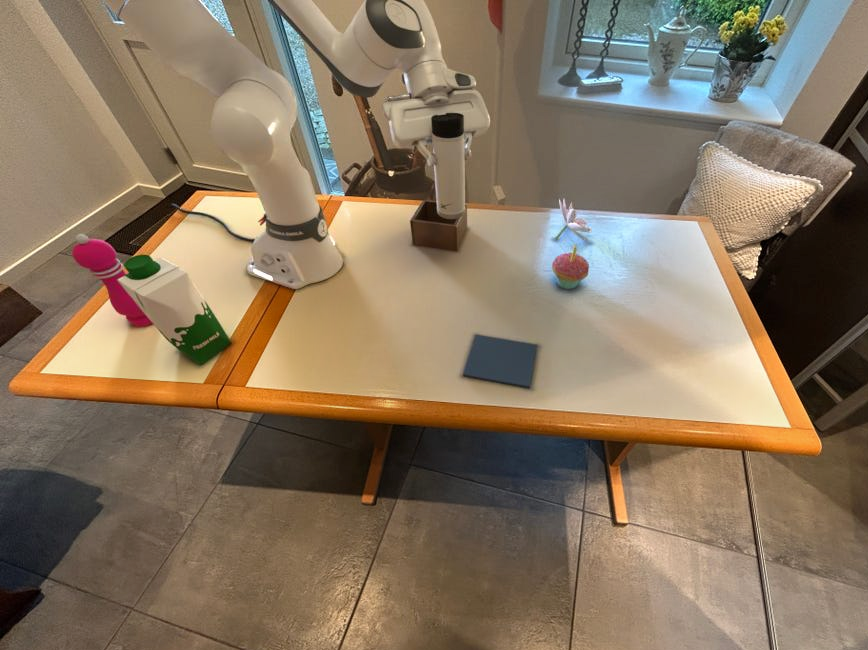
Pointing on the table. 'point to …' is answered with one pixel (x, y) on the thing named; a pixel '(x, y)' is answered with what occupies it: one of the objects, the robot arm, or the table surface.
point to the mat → (501, 361)
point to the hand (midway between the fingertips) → (450, 161)
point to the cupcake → (570, 269)
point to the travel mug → (449, 164)
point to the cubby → (437, 227)
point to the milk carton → (174, 307)
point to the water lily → (573, 222)
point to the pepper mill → (108, 276)
